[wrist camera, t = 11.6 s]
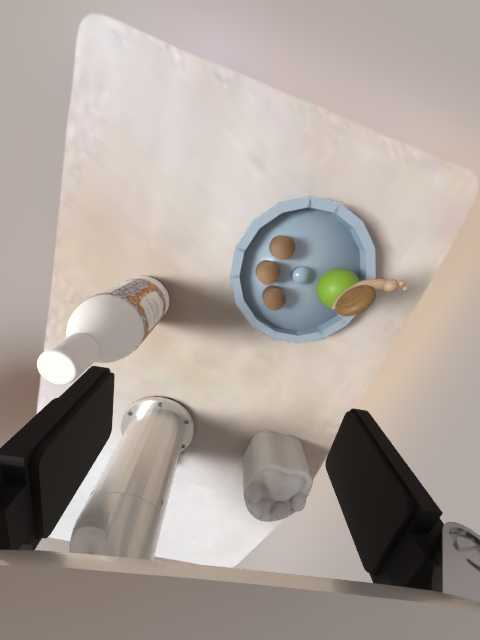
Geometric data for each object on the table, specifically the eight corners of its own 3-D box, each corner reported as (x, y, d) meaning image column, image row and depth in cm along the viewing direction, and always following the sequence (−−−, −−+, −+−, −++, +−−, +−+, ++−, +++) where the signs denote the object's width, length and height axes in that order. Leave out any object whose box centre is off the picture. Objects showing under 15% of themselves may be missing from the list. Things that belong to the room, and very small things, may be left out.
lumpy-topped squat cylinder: (308, 439, 47) (323, 483, 39) (284, 487, 51) (293, 537, 43) (254, 427, 46) (258, 470, 38) (234, 477, 50) (234, 526, 42)
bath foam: (175, 317, 38) (117, 402, 20) (130, 323, 39) (30, 412, 20) (164, 272, 36) (86, 318, 17) (117, 278, 36) (-12, 331, 17)
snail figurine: (362, 281, 36) (421, 304, 25) (326, 310, 37) (365, 345, 26) (341, 252, 35) (393, 263, 23) (303, 283, 36) (335, 308, 25)
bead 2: (274, 283, 36) (276, 287, 33) (253, 279, 36) (254, 282, 33) (279, 262, 35) (282, 264, 32) (258, 257, 35) (259, 259, 32)
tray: (339, 344, 40) (346, 352, 38) (220, 322, 39) (220, 329, 36) (386, 217, 34) (398, 216, 31) (247, 185, 32) (248, 181, 30)
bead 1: (287, 260, 35) (291, 262, 32) (266, 255, 35) (269, 257, 32) (293, 237, 34) (298, 238, 31) (272, 233, 34) (274, 233, 31)
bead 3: (279, 307, 37) (282, 312, 35) (259, 303, 37) (261, 308, 34) (285, 287, 36) (288, 291, 34) (264, 283, 36) (266, 287, 33)
